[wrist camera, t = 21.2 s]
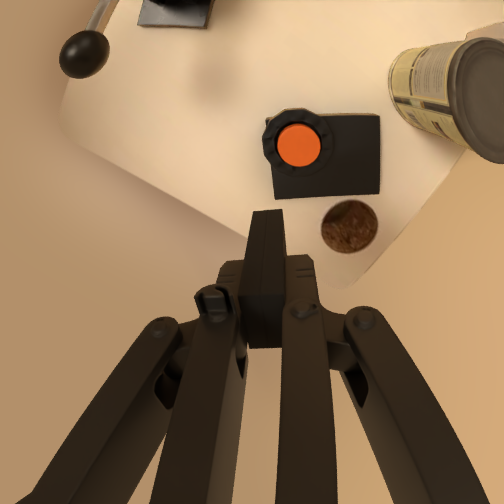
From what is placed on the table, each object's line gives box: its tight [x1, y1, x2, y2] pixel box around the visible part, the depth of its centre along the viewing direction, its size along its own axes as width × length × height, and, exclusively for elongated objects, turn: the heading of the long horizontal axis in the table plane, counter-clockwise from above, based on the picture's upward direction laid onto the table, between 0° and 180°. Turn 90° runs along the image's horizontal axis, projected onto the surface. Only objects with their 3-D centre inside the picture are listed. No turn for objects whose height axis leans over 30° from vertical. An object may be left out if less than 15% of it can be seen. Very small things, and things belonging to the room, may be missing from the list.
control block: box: [262, 108, 380, 200], centre depth 29 cm, size 12×10×4 cm
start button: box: [278, 124, 320, 167], centre depth 26 cm, size 4×4×2 cm
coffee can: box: [388, 37, 504, 164], centre depth 19 cm, size 10×10×14 cm
